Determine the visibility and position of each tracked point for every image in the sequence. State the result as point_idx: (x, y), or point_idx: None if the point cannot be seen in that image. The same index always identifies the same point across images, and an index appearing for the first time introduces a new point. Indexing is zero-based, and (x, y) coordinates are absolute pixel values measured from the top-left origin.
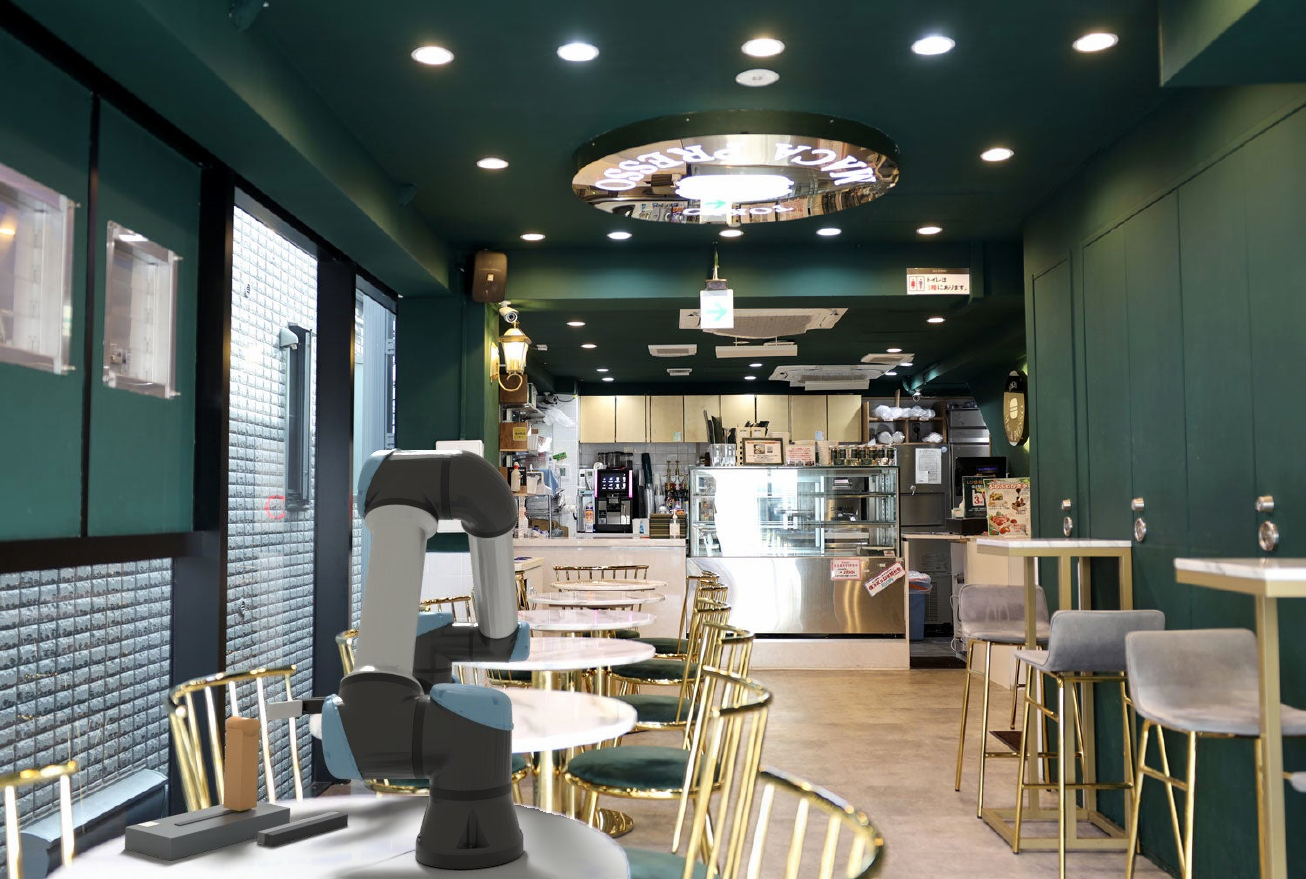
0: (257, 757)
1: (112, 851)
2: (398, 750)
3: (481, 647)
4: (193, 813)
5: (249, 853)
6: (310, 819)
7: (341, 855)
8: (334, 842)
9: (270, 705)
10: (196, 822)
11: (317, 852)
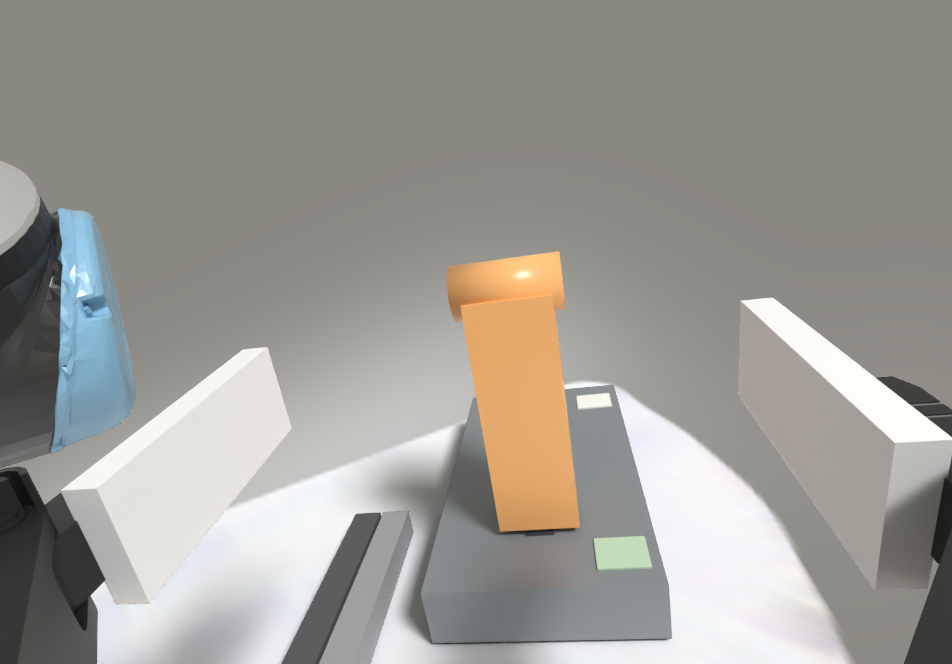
0: (477, 398)
1: (625, 413)
2: None
3: None
4: (610, 458)
5: (385, 503)
6: (344, 634)
7: (174, 579)
8: (228, 631)
9: (742, 311)
10: None
11: (241, 566)
